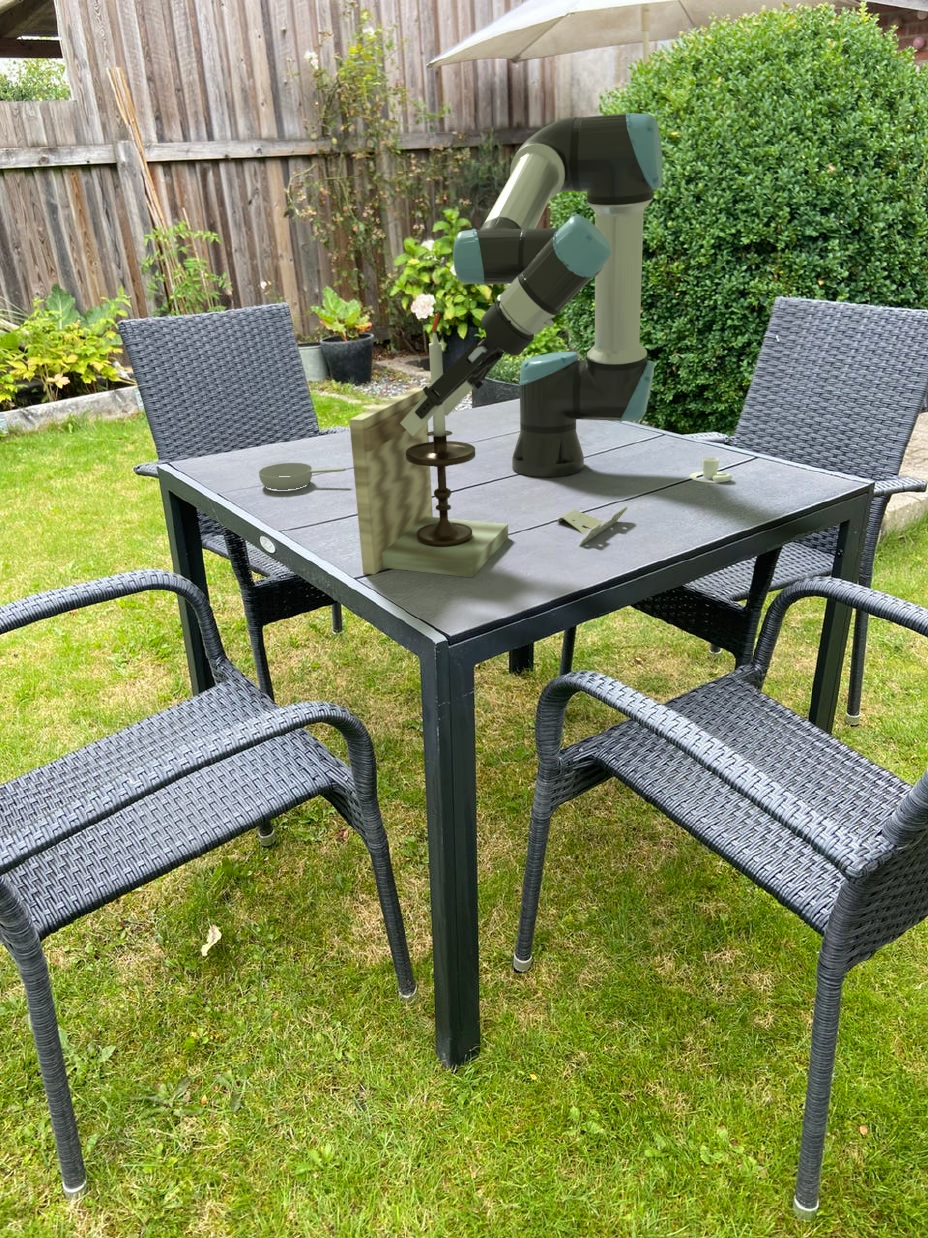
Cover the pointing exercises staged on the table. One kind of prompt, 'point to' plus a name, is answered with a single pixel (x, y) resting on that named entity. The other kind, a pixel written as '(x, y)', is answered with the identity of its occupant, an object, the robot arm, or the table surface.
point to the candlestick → (441, 464)
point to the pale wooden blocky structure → (405, 499)
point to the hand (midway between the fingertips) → (424, 419)
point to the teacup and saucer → (711, 471)
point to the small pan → (296, 471)
